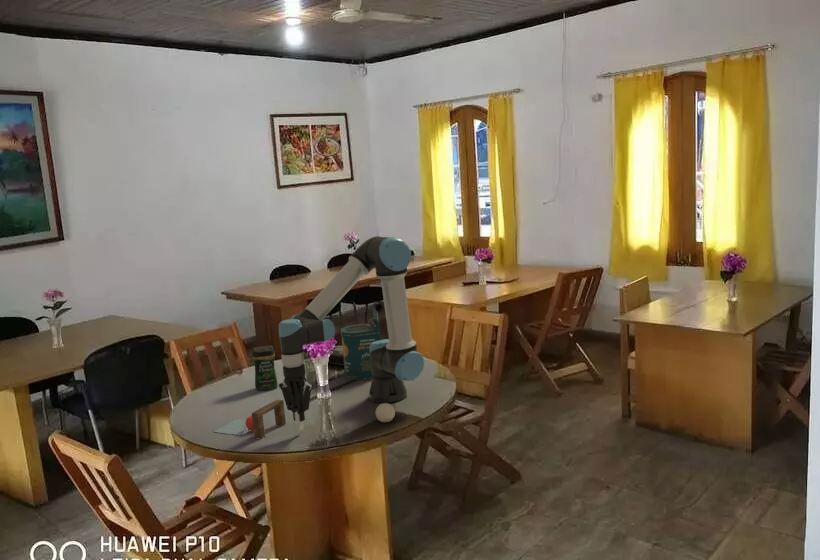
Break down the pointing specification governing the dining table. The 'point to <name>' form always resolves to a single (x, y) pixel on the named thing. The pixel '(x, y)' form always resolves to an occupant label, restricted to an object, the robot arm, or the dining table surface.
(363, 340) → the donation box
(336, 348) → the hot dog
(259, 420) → the bridge
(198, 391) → the dining table surface
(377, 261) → the robot arm
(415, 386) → the dining table surface
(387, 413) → the baseball
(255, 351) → the coffee jar
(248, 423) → the ball
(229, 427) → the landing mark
